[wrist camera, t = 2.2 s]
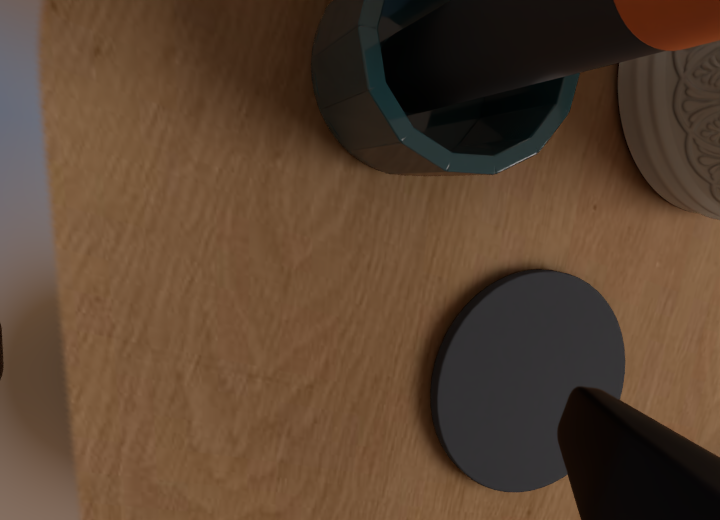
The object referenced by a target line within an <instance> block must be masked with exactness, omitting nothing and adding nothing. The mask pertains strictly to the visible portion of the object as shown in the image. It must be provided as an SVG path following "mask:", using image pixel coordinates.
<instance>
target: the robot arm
mask: <svg viewBox="0 0 720 520" xmlns="http://www.w3.org/2000/svg"><path fill="white" fill-rule="evenodd" d="M2 373H3V346H2V328H1V324H0V379H1V377H2ZM557 439H558V444H559V447H560V450H561V454H562V457H563V460H564V464H565V467H566V471H567V474H568V477H569V481H570V484H571V487H572V491H573V494H574V497H575V501H576V504H577V507H578V511H579V514H580V517H581V520H720V457H718V456H716V455H714V454H713V453H711V452H709V451H707V450H706V449H704V448H702V447H700V446H699V445H697V444H695V443H693V442H692V441H690V440H688V439H687V438H685V437H683V436H681V435H680V434H678V433H676V432H674V431H673V430H671V429H669V428H667V427H666V426H664V425H662V424H660V423H659V422H657V421H655V420H654V419H652V418H650V417H648V416H647V415H645V414H643V413H641V412H640V411H638V410H636V409H634V408H633V407H631V406H629V405H628V404H626V403H624V402H622V401H621V400H619V399H617V398H615V397H614V396H612V395H610V394H608V393H607V392H605V391H603V390H601V389H598V388H592V387H583V386H577V387H576V388H574V389H573V390H572V391H571V393H570V395H569V397H568V400H567V403H566V405H565V408H564V411H563V413H562V416H561V419H560V421H559V424H558V429H557Z"/></svg>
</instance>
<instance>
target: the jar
mask: <svg viewBox="0 0 720 520" xmlns="http://www.w3.org/2000/svg"><path fill="white" fill-rule="evenodd" d="M618 101H619V110H620V117H621V122H622V127H623V131H624V135H625V138H626V141H627V144H628V147H629V150H630V152H631V155H632V157H633V159H634V161H635V163H636V165H637V167H638V168H639V170H640V172H641V173H642V175H643V176H644V178H645V179H646V181H647V182H648V183H649V184H650V186H651V187H652V188H653V189H654V190H655V191H656V192H657V193H658V194H659V195H660V196H662V197H663V198H664V199H665V200H667V201H668V202H670V203H671V204H673V205H675V206H677V207H679V208H681V209H683V210H686V211H689V212H694V213H699V214H702V215H704V216H706V217H710V218H713V219H717V220H720V40H719V41H715V42H711V43H707V44H703V45H699V46H695V47H690V48H686V49H682V50H677V51H664V52H660V53H656V54H652V55H648V56H644V57H640V58H636V59H632V60H628V61H624V62H620V63H619V70H618Z"/></svg>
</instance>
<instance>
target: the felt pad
mask: <svg viewBox="0 0 720 520" xmlns="http://www.w3.org/2000/svg"><path fill="white" fill-rule="evenodd" d="M624 374H625V352H624V343H623V338H622V333H621V330H620V327H619V324H618V321H617V319H616V317H615V315H614V313H613V311H612V309H611V307H610V306H609V304H608V303H607V301H606V300H605V299H604V298H603V297H602V295H601V294H600V293H599V292H598V291H597V290H596V289H594V288H593V287H592V286H591V285H590V284H588V283H586V282H585V281H583V280H581V279H580V278H578V277H575V276H572V275H570V274H567V273H562V272H557V271H553V270H542V269H536V270H527V271H522V272H518V273H514V274H511V275H509V276H507V277H504V278H502V279H500V280H498V281H496V282H494V283H493V284H491V285H489V286H488V287H486V288H485V289H484V290H482V291H481V292H480V293H479V294H477V295H476V296H475V297H474V298H473V299H472V300H471V301H470V302H469V303H468V304H467V305H466V306H465V307H464V308H463V310H462V311H461V312H460V314H459V315H458V316H457V317H456V319H455V320H454V322H453V323H452V325H451V327H450V328H449V330H448V332H447V334H446V336H445V338H444V340H443V342H442V344H441V346H440V349H439V352H438V355H437V358H436V361H435V365H434V370H433V374H432V382H431V411H432V418H433V423H434V426H435V430H436V433H437V436H438V438H439V441H440V443H441V445H442V447H443V449H444V450H445V452H446V453H447V455H448V457H449V458H450V459H451V460H452V461H453V463H454V464H455V465H456V466H457V467H458V468H459V469H460V470H461V471H462V472H464V473H465V474H466V475H467V476H469V477H470V478H471V479H472V480H474V481H476V482H477V483H479V484H481V485H483V486H485V487H488V488H491V489H494V490H499V491H504V492H524V491H531V490H535V489H538V488H542V487H545V486H547V485H549V484H552V483H554V482H556V481H557V480H559V479H561V478H563V477H564V476H566V475H567V471H566V467H565V464H564V460H563V457H562V454H561V450H560V447H559V444H558V439H557V429H558V424H559V421H560V419H561V416H562V413H563V411H564V408H565V405H566V403H567V400H568V397H569V395H570V393H571V391H572V390H573V389H574V388H576V387H577V386H583V387H592V388H598V389H601V390H603V391H605V392H607V393H608V394H610V395H612V396H614V397H615V398H617V399H619V400H620V396H621V392H622V388H623V382H624Z"/></svg>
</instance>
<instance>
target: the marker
mask: <svg viewBox="0 0 720 520" xmlns="http://www.w3.org/2000/svg"><path fill="white" fill-rule="evenodd" d="M719 40H720V0H451V1H449V2H448V3H446V4H444V5H442V6H441V7H439V8H437V9H436V10H434V11H432V12H431V13H429V14H427V15H425V16H424V17H422V18H420V19H419V20H417V21H415V22H414V23H412V24H410V25H409V26H407V27H405V28H403V29H402V30H400V31H398V32H397V33H395V34H393V35H392V36H391V37H390V38H388V40H387V41H386V42H385V43H384V45H383V46H382V48H381V54H382V60H383V67H384V73H385V80H386V83H387V85H388V87H389V88H390V90H391V92H392V93H393V95H394V96H395V98H396V100H397V101H398V103H399V105H400V106H401V108H402V110H403V111H405V112H408V113H422V112H426V111H430V110H434V109H438V108H442V107H446V106H450V105H453V104H457V103H461V102H465V101H469V100H473V99H477V98H481V97H485V96H489V95H493V94H497V93H501V92H505V91H509V90H513V89H517V88H521V87H525V86H529V85H533V84H537V83H541V82H545V81H549V80H553V79H557V78H561V77H565V76H569V75H572V74H576V73H580V72H584V71H588V70H592V69H596V68H600V67H604V66H608V65H612V64H616V63H620V62H624V61H628V60H632V59H636V58H640V57H644V56H648V55H652V54H656V53H660V52H664V51H677V50H682V49H686V48H690V47H695V46H699V45H703V44H707V43H711V42H715V41H719Z"/></svg>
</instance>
